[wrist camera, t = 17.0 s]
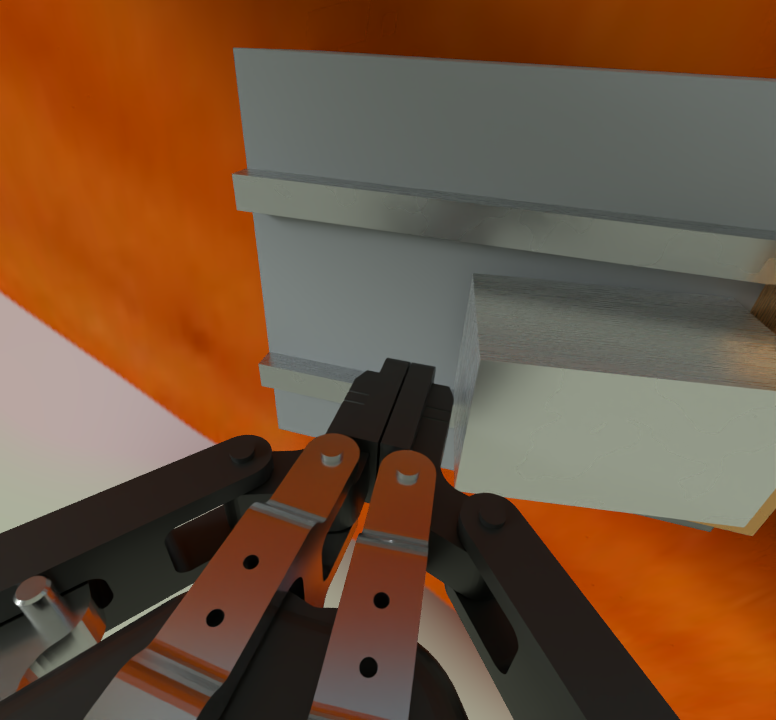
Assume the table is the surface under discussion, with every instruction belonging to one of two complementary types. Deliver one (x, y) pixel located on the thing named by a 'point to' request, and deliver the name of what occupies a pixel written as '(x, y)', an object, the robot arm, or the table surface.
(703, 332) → the aluminium block
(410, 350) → the channel stand
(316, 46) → the table surface
